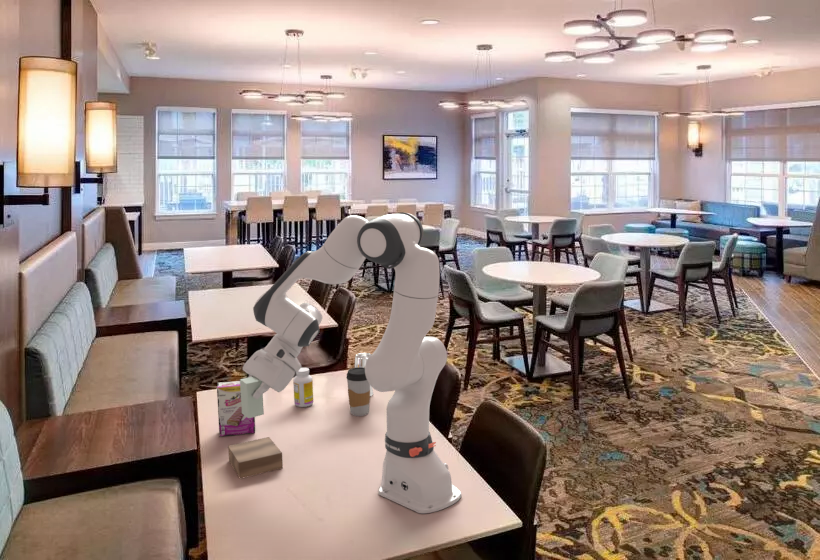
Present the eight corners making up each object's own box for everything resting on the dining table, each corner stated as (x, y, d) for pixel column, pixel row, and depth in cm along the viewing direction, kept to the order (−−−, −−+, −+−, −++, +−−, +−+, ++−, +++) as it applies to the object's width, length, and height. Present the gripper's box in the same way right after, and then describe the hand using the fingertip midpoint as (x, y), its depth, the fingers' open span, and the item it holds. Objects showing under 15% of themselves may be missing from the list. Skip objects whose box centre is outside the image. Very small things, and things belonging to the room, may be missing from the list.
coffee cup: (376, 412, 217) (376, 370, 214) (357, 419, 211) (356, 376, 208) (361, 406, 223) (360, 365, 220) (342, 412, 217) (341, 370, 214)
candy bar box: (219, 437, 198) (216, 387, 195) (220, 431, 203) (216, 382, 200) (256, 433, 201) (253, 384, 198) (255, 427, 206) (253, 379, 203)
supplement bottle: (315, 401, 228) (314, 366, 226) (310, 408, 222) (309, 372, 219) (297, 400, 229) (295, 366, 226) (292, 407, 222) (290, 372, 220)
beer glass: (371, 398, 230) (370, 359, 227) (353, 397, 231) (352, 357, 228) (376, 392, 236) (375, 353, 234) (358, 390, 238) (357, 352, 235)
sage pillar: (263, 414, 177) (262, 380, 175) (248, 418, 174) (246, 383, 173) (256, 409, 181) (255, 376, 179) (241, 413, 178) (239, 379, 176)
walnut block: (282, 469, 178) (282, 452, 177) (240, 479, 172) (238, 462, 171) (269, 452, 188) (269, 436, 187) (229, 462, 183) (228, 445, 182)
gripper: (256, 339, 187) (226, 378, 182) (289, 356, 171) (257, 399, 167) (271, 351, 190) (242, 390, 186) (304, 368, 174) (273, 411, 170)
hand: (249, 394), depth 176 cm, fingers closed on sage pillar, 4 cm apart
